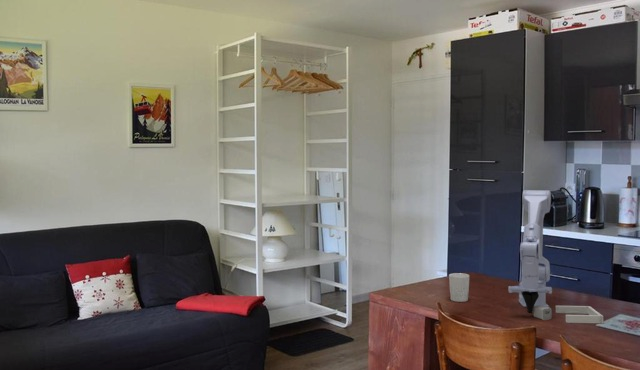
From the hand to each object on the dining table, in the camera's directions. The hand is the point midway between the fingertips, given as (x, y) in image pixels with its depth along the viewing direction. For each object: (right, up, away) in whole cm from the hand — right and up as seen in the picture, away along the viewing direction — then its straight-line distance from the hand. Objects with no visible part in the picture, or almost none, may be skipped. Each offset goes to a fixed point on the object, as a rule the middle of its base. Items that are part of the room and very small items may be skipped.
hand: (529, 312), depth 205 cm
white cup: (-19, -1, +25) cm, 31 cm away
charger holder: (+16, -1, -2) cm, 16 cm away
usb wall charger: (+3, -2, -1) cm, 4 cm away
